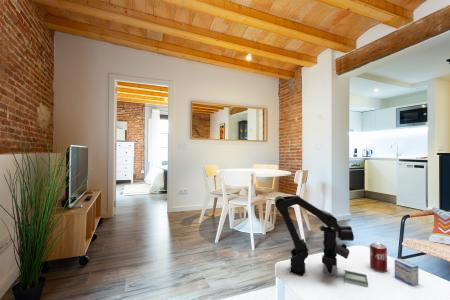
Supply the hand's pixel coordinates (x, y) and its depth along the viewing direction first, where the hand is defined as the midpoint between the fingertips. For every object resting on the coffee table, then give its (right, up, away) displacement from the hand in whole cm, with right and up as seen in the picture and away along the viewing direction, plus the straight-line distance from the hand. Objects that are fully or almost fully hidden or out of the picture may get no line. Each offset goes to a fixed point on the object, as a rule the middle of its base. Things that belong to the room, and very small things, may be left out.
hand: (330, 270), depth 112 cm
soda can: (+27, -1, +4) cm, 27 cm away
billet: (0, -2, 0) cm, 2 cm away
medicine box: (+33, -1, -7) cm, 33 cm away
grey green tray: (+9, -1, -6) cm, 11 cm away
